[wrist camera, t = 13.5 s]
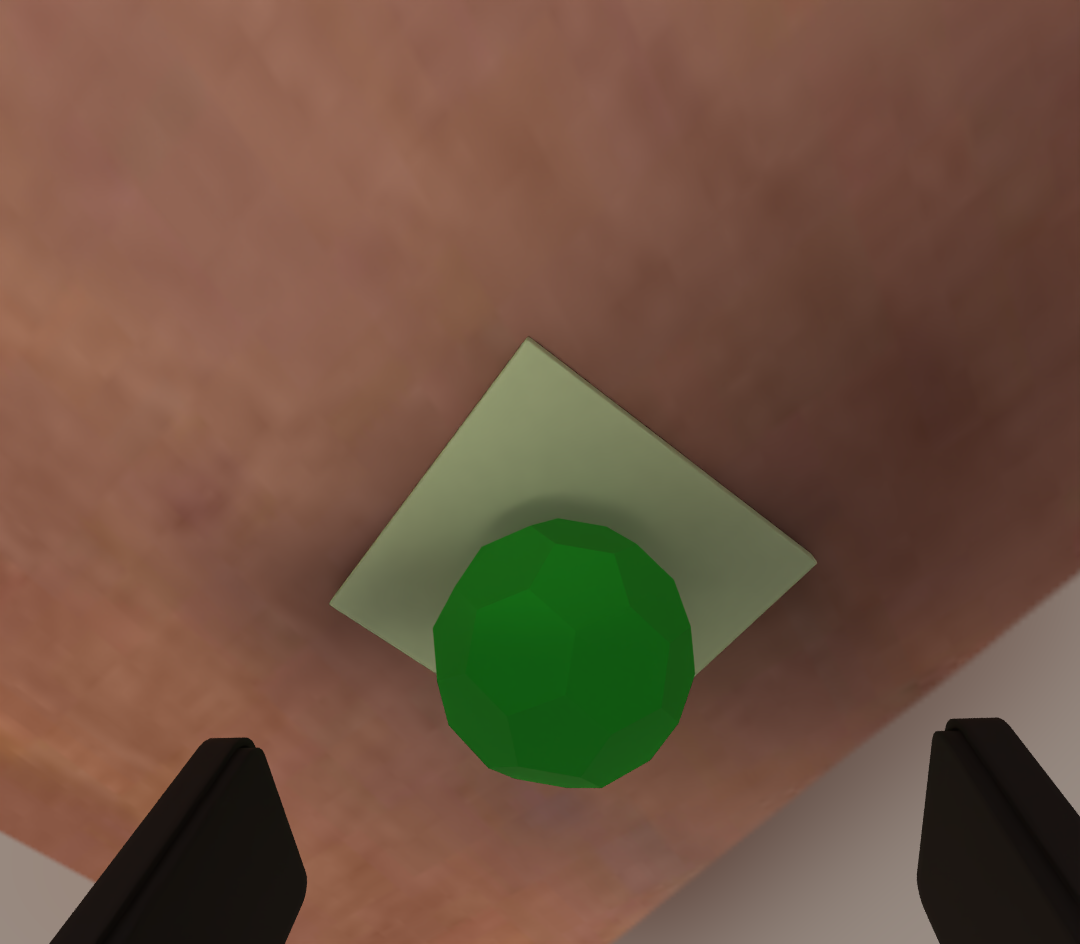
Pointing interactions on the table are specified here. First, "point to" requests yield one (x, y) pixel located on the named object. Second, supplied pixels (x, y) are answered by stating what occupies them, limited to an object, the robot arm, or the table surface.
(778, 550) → the mat
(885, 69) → the table surface
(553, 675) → the polyhedron
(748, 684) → the table surface
